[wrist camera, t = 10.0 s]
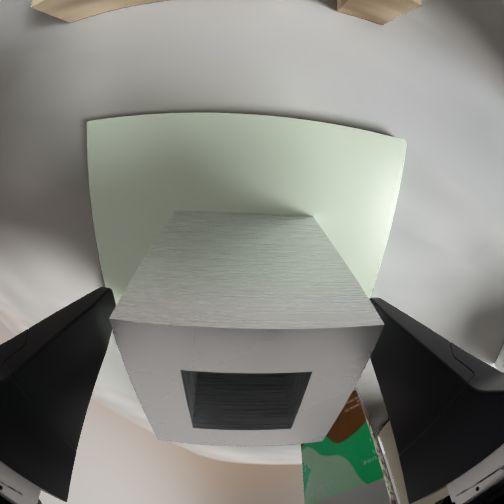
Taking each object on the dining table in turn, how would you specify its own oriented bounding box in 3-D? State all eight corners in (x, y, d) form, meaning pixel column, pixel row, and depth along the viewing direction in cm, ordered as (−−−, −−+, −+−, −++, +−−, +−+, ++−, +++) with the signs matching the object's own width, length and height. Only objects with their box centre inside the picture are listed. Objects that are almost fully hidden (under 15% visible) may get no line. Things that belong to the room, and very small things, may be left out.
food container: (251, 393, 16) (259, 541, 7) (343, 358, 15) (393, 513, 6) (312, 447, 21) (327, 535, 12) (373, 424, 20) (400, 512, 11)
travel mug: (418, 391, 18) (479, 556, 2) (458, 391, 20) (513, 517, 4) (362, 437, 21) (398, 580, 5) (409, 433, 23) (447, 549, 7)
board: (397, 138, 9) (407, 140, 9) (339, 357, 15) (342, 367, 14) (96, 120, 9) (87, 121, 8) (130, 350, 14) (126, 360, 13)
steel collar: (312, 216, 10) (384, 324, 5) (294, 322, 12) (322, 441, 7) (175, 210, 10) (109, 318, 4) (183, 319, 12) (158, 439, 7)
